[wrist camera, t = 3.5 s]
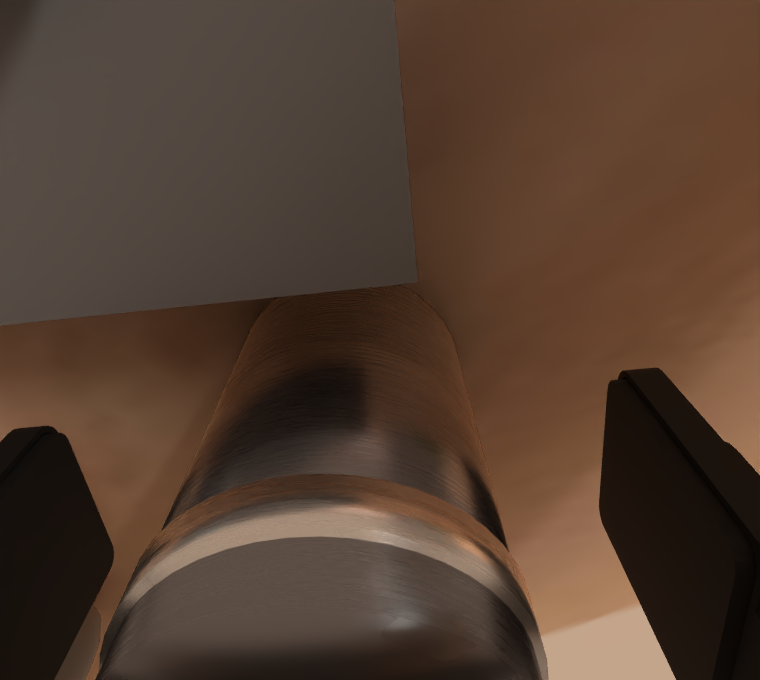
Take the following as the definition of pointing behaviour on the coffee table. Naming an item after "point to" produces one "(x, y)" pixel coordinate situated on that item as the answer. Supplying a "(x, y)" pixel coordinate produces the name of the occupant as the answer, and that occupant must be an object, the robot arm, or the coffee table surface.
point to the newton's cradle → (82, 649)
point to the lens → (333, 516)
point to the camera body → (198, 153)
